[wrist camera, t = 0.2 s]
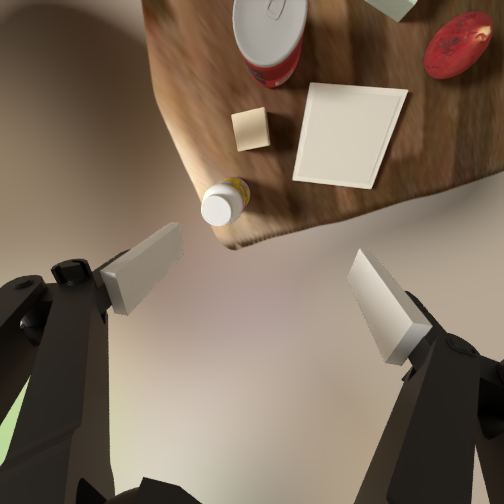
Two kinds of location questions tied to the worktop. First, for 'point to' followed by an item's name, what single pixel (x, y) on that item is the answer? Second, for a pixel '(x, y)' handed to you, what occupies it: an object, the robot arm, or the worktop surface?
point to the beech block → (251, 129)
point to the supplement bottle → (225, 201)
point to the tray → (346, 133)
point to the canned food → (270, 37)
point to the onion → (458, 45)
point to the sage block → (393, 7)
